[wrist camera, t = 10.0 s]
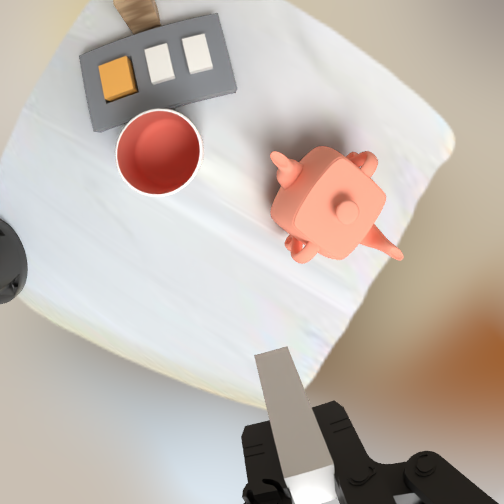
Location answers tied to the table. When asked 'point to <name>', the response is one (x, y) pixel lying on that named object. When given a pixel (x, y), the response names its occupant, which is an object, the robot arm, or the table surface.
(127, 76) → the orange rectangular block
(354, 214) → the teapot
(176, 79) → the panel
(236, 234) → the table surface
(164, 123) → the cup
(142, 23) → the oak post
